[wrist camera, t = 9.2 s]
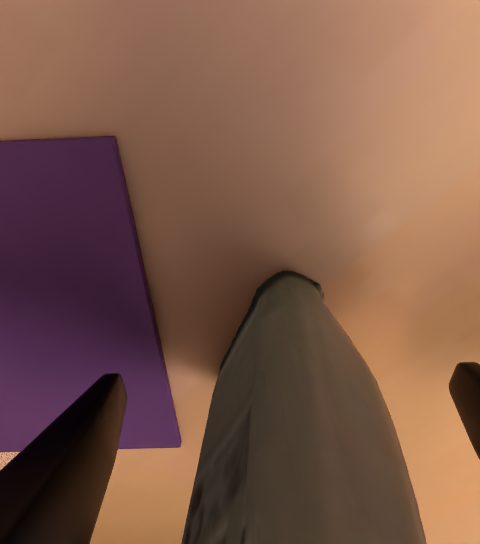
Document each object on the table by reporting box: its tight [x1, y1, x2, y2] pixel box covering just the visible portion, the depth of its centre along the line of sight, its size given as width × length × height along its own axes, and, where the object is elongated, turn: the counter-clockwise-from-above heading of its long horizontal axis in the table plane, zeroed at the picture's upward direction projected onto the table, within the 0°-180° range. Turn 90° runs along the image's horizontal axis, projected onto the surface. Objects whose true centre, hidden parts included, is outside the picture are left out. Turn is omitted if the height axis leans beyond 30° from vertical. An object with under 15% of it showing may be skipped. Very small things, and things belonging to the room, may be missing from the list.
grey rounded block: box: [182, 271, 427, 544], centre depth 7 cm, size 6×5×8 cm
